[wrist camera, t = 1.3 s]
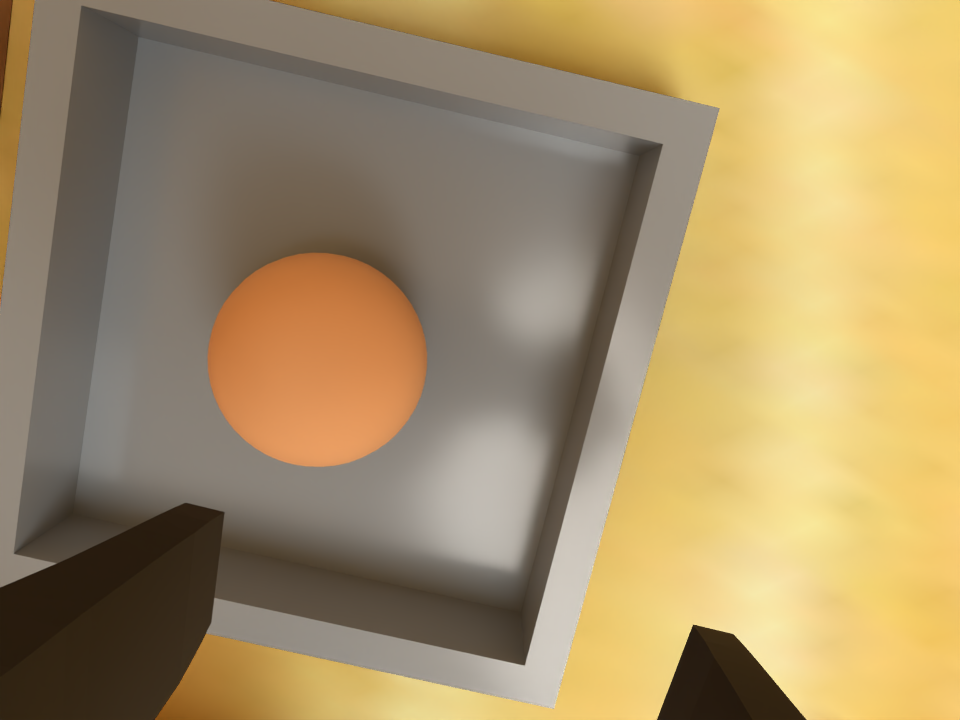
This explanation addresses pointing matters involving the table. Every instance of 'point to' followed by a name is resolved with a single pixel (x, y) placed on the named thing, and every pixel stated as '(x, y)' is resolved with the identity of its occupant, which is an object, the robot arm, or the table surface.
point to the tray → (4, 37)
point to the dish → (374, 241)
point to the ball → (317, 359)
